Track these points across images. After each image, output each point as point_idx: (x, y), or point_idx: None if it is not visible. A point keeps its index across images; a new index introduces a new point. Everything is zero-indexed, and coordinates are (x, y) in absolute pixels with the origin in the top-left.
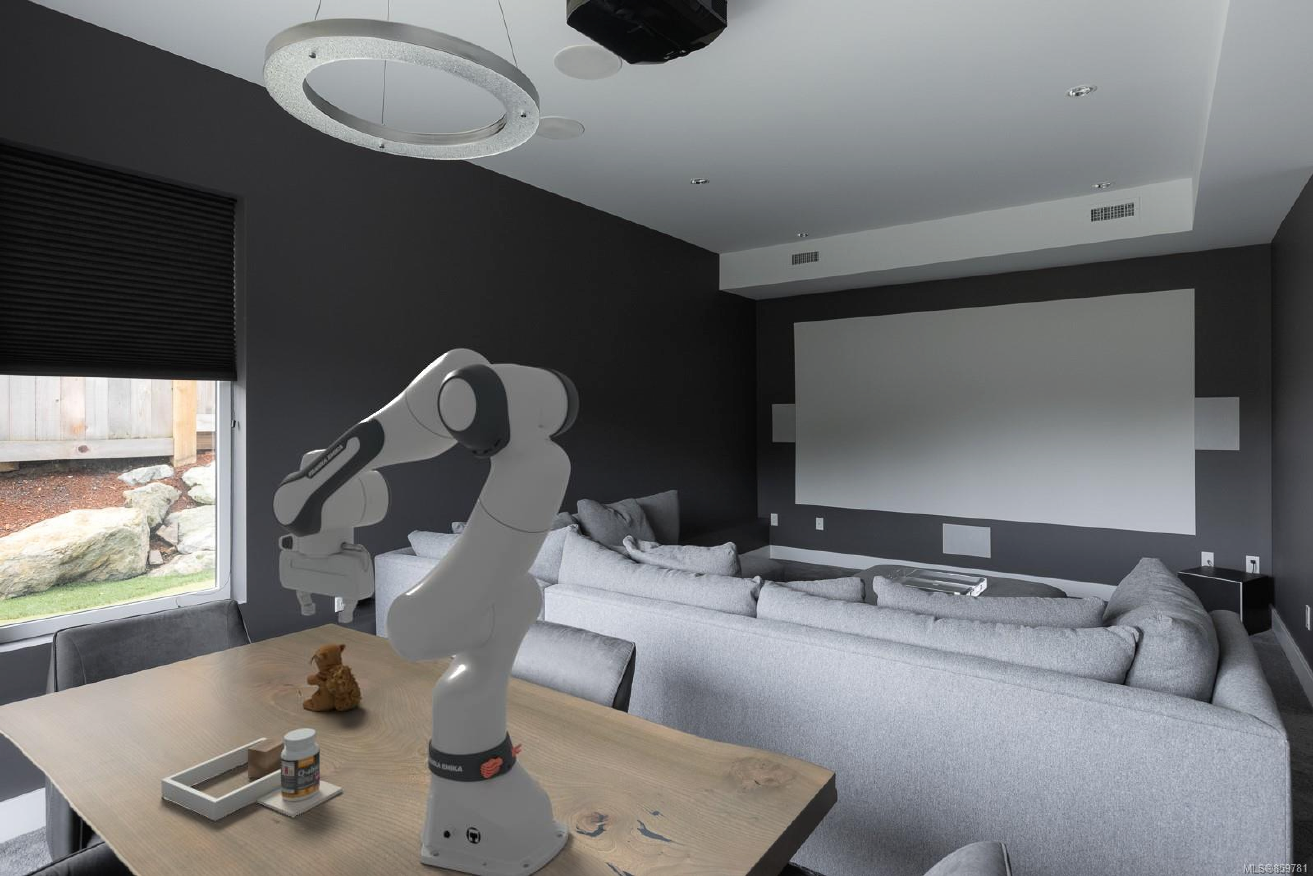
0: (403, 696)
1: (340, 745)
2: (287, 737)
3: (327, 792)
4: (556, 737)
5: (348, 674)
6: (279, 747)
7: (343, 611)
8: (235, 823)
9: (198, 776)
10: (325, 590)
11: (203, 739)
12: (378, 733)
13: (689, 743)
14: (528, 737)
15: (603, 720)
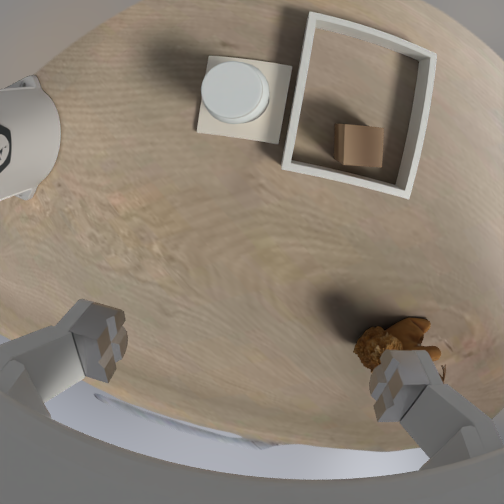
0: (317, 380)
1: (306, 246)
2: (243, 68)
3: (207, 114)
4: None
5: (374, 367)
6: (342, 152)
7: (49, 333)
8: (276, 24)
9: (419, 94)
10: (103, 485)
11: (490, 209)
12: (277, 292)
13: (7, 331)
14: None
15: None
